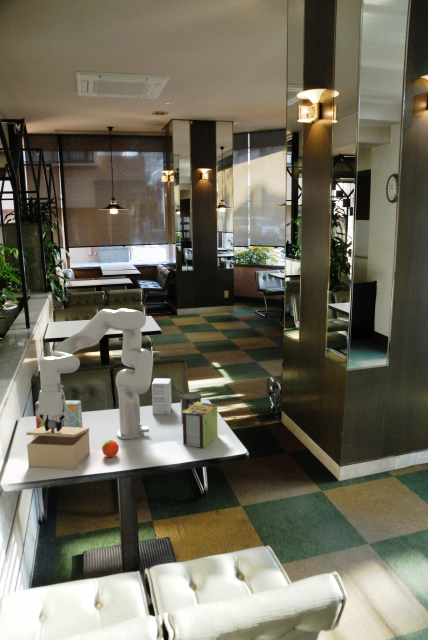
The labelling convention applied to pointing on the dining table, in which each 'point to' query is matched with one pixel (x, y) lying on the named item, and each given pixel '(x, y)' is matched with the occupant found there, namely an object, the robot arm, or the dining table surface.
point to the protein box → (199, 424)
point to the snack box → (69, 421)
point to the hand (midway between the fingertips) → (53, 429)
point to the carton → (58, 451)
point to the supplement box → (161, 396)
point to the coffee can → (188, 401)
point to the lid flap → (53, 431)
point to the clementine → (110, 448)
